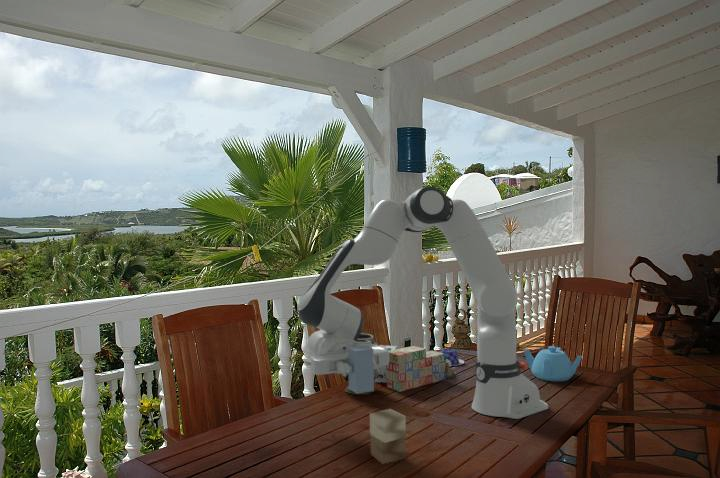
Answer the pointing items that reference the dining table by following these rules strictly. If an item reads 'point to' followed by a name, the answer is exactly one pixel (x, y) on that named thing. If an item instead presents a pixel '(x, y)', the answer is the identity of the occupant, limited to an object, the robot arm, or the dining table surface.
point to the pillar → (361, 369)
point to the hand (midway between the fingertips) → (362, 367)
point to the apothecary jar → (376, 373)
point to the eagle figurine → (448, 370)
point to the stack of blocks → (414, 368)
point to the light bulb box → (382, 369)
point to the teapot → (552, 364)
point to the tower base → (388, 450)
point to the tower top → (387, 425)
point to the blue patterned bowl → (452, 356)
